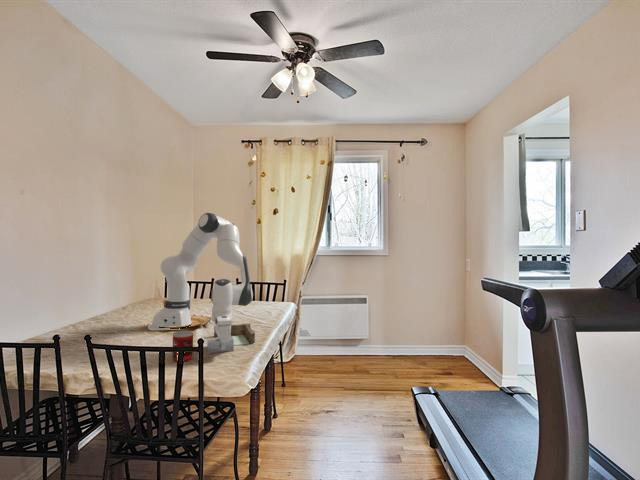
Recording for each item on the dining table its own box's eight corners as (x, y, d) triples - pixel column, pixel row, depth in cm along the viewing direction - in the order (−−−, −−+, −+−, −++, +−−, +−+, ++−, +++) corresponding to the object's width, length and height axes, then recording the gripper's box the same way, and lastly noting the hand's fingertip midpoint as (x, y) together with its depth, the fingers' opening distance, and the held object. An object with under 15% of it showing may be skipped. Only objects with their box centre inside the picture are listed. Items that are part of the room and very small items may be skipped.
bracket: (208, 353, 159) (208, 342, 158) (206, 348, 165) (206, 337, 165) (233, 350, 163) (233, 339, 163) (230, 345, 169) (231, 335, 169)
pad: (221, 346, 168) (221, 346, 168) (217, 338, 180) (217, 337, 180) (249, 343, 173) (249, 343, 173) (243, 335, 186) (243, 335, 186)
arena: (218, 347, 167) (219, 336, 167) (214, 336, 183) (214, 326, 183) (257, 343, 174) (257, 333, 174) (249, 332, 190) (249, 323, 190)
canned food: (175, 355, 155) (176, 330, 154) (194, 355, 155) (195, 330, 155) (169, 362, 147) (170, 335, 147) (190, 362, 148) (190, 335, 147)
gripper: (212, 311, 170) (211, 340, 171) (217, 322, 151) (217, 355, 152) (225, 310, 173) (225, 339, 173) (233, 321, 154) (232, 353, 154)
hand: (221, 346), depth 162 cm, fingers open, 5 cm apart
